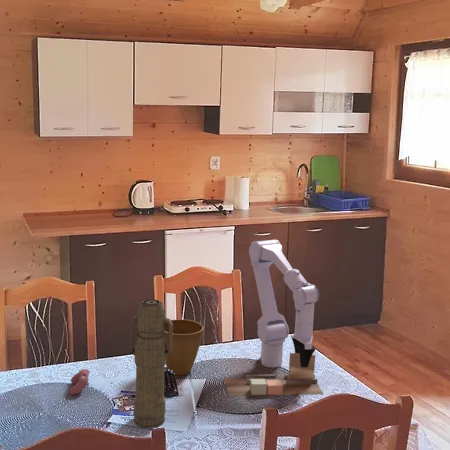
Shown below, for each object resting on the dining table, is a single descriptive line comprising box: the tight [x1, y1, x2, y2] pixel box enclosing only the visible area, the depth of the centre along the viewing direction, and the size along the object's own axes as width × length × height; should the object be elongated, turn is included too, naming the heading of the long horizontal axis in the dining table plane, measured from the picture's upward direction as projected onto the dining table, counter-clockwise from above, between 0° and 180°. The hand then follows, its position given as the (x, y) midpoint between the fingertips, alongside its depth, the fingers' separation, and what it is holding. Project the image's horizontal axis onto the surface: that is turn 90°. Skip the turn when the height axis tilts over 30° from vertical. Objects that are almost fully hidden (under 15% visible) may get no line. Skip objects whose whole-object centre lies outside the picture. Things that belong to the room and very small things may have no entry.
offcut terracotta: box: [266, 380, 283, 396], centre depth 204 cm, size 4×5×3 cm
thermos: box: [129, 298, 173, 429], centre depth 182 cm, size 9×12×35 cm
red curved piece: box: [69, 368, 90, 396], centre depth 203 cm, size 10×5×7 cm, turn 10°
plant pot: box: [164, 318, 204, 377], centre depth 218 cm, size 15×15×16 cm
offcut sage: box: [250, 379, 267, 396], centre depth 203 cm, size 4×5×4 cm
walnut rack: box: [223, 373, 324, 397], centre depth 208 cm, size 13×30×2 cm, turn 96°
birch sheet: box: [288, 352, 316, 379], centre depth 212 cm, size 2×8×9 cm, turn 96°
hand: (301, 362), depth 212 cm, fingers open, 7 cm apart
